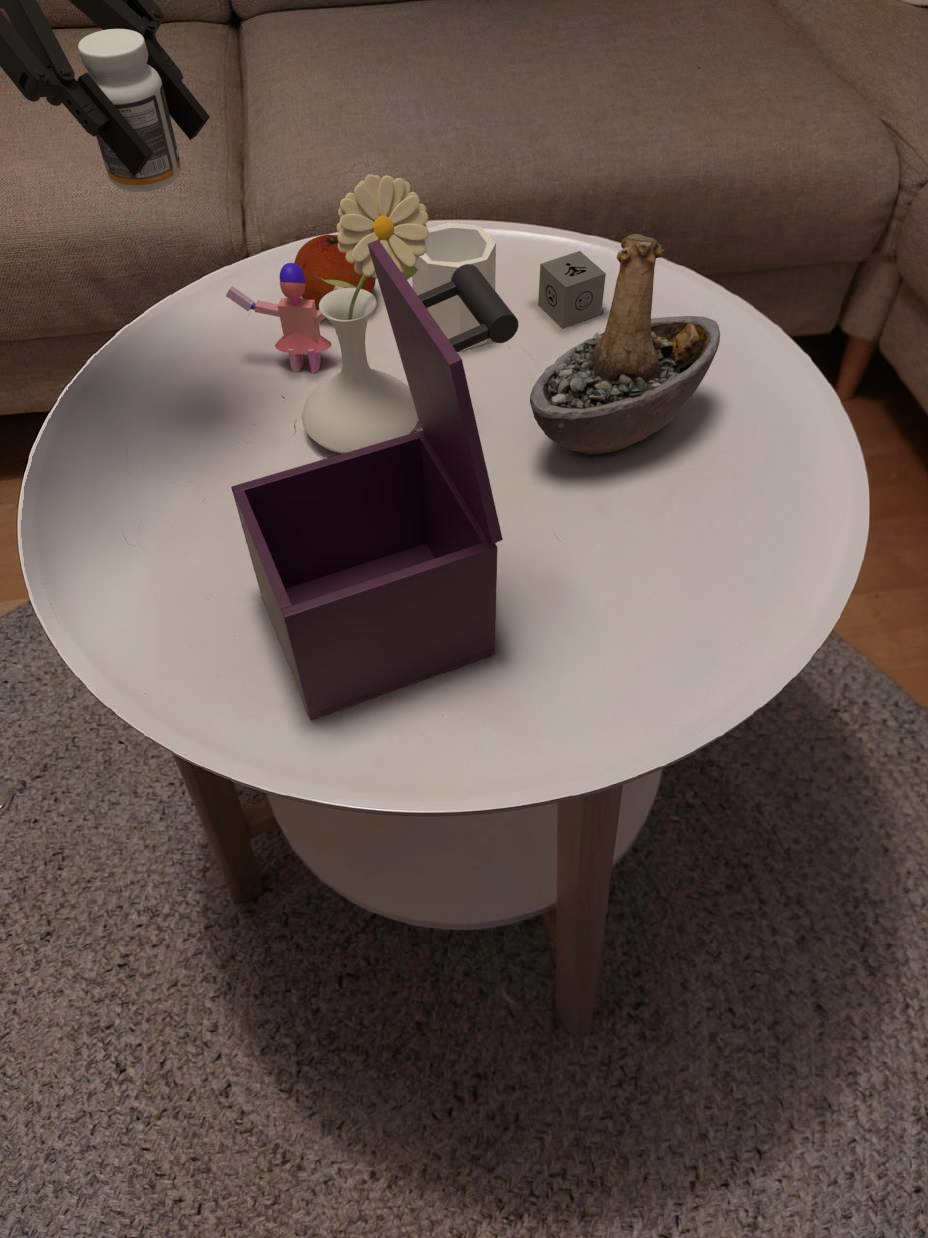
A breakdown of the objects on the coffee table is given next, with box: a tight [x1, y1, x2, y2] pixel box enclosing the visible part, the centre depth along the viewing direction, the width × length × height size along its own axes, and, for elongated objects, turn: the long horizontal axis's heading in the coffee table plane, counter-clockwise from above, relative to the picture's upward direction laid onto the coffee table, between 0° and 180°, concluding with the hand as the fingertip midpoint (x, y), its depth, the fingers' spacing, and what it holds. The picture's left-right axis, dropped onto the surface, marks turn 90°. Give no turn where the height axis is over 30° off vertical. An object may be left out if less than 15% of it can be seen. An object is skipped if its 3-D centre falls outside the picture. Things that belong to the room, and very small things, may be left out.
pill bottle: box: [77, 29, 182, 193], centre depth 74 cm, size 6×6×10 cm
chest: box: [230, 429, 498, 721], centre depth 76 cm, size 16×14×13 cm
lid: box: [368, 240, 519, 544], centre depth 66 cm, size 16×14×6 cm
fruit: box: [293, 234, 377, 311], centre depth 106 cm, size 9×9×8 cm
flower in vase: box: [301, 173, 429, 454], centre depth 86 cm, size 13×11×25 cm
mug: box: [411, 221, 497, 352], centre depth 103 cm, size 12×9×10 cm
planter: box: [529, 233, 721, 455], centre depth 87 cm, size 15×17×20 cm
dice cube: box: [537, 250, 607, 329], centre depth 105 cm, size 5×5×5 cm
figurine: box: [225, 262, 344, 374], centre depth 98 cm, size 3×12×11 cm, turn 87°
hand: (171, 145), depth 74 cm, fingers closed on pill bottle, 6 cm apart
